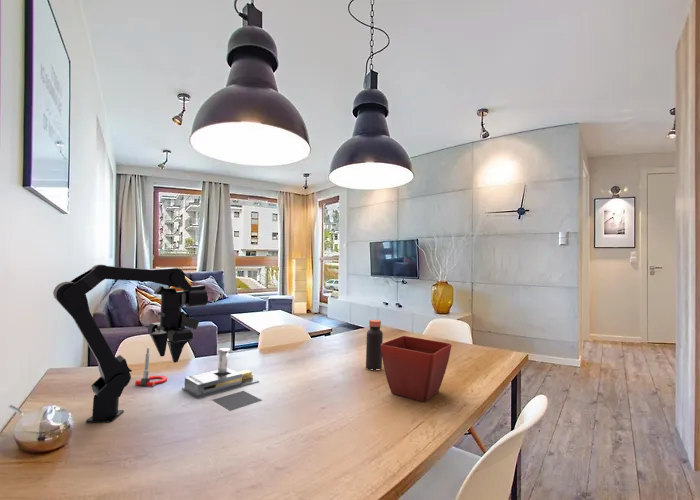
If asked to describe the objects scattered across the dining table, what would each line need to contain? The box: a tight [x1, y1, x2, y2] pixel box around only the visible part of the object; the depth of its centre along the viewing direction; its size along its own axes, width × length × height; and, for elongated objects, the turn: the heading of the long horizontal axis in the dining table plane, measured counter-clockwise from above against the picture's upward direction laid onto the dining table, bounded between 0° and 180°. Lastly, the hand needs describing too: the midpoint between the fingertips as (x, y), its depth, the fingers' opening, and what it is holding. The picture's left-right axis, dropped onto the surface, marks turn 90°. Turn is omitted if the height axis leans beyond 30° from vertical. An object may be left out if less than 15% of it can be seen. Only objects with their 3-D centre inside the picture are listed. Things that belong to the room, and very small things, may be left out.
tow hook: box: [134, 347, 168, 388], centre depth 123 cm, size 8×13×9 cm
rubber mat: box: [212, 390, 263, 412], centre depth 108 cm, size 11×11×1 cm
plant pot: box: [381, 335, 452, 403], centre depth 120 cm, size 19×19×17 cm
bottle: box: [365, 319, 384, 371], centre depth 146 cm, size 7×7×20 cm
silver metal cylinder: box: [217, 347, 231, 377], centre depth 120 cm, size 4×4×12 cm
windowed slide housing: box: [181, 367, 260, 400], centre depth 120 cm, size 22×12×4 cm, turn 138°
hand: (168, 359), depth 106 cm, fingers open, 9 cm apart
